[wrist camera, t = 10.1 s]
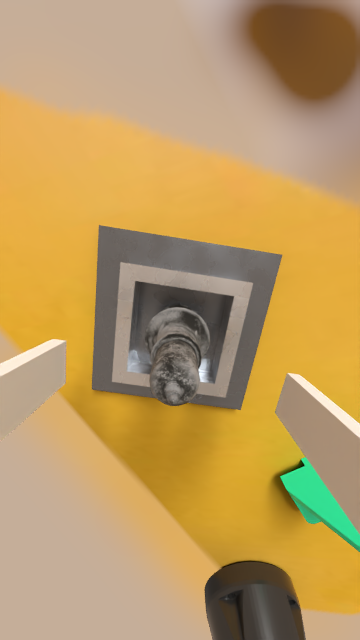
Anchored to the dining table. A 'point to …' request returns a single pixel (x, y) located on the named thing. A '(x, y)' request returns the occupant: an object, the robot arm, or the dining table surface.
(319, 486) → the camera mount
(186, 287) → the plate
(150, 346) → the gray metallic stepped cylinder
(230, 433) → the dining table surface
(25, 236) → the dining table surface
